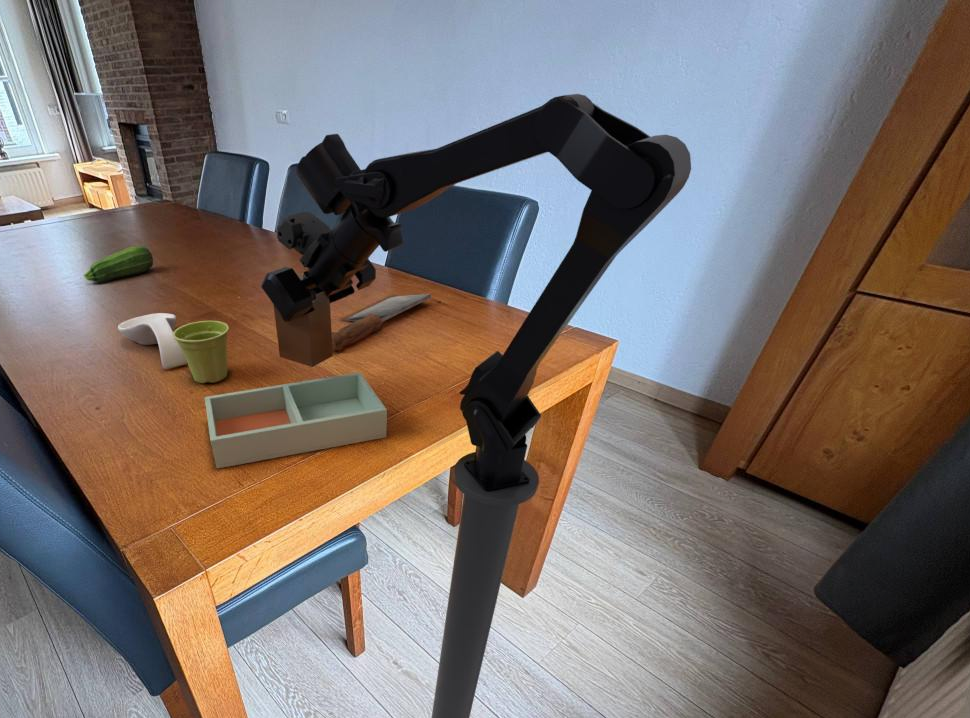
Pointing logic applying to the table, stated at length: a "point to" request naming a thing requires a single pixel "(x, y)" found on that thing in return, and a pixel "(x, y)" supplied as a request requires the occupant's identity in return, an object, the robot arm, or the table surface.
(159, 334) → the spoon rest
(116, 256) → the vegetable
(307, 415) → the divided tray
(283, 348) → the knife block
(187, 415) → the table surface
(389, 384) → the table surface
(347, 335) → the meat cleaver
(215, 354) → the plant pot
